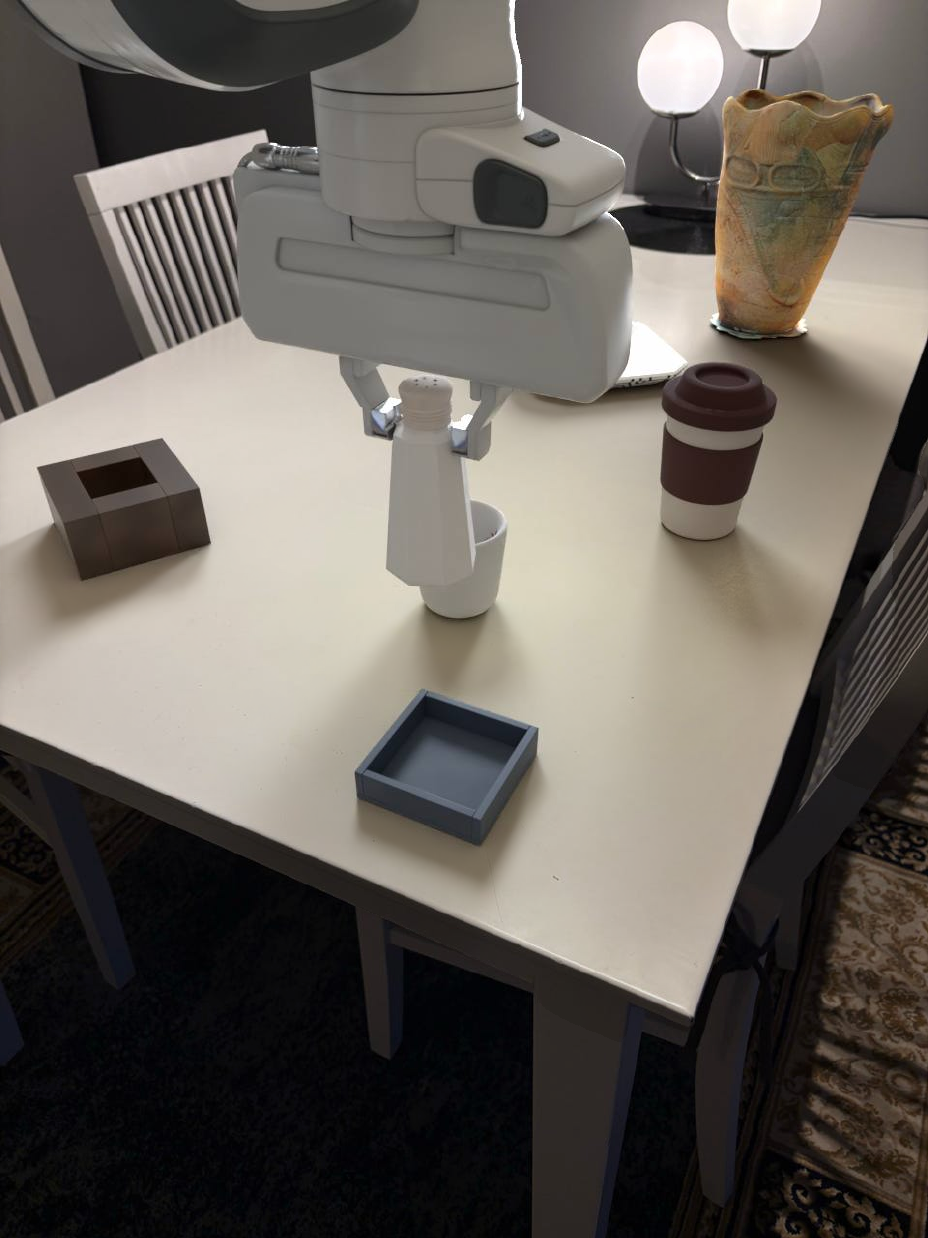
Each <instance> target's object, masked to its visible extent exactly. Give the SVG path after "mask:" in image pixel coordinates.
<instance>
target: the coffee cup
mask: <svg viewBox="0 0 928 1238" xmlns="http://www.w3.org/2000/svg"><path fill="white" fill-rule="evenodd" d="M660 402H661V404H660V405H661V408H662V410H663V412H664V413H665V414H666V420H665V422H664V424H663V429H662V430H663V431H662V446H661V460H660V462H661V463H660V476H659V481H660V485H661V496H660V510H659V516H660V518H659V519H660V520H661V523H662V525H664V527H665V528H666V529H667V530H668V531H670V532H671V533H674V534H676V535H678V536H680V537H683V538H686V539H692V540H700V541H709V540H710V541H711V540H716V539H721V538H723V537H726V536H728V535H729V534H730V533H731V532H733V530H735V527H736V525H737V522H738V519H739V515H740V511H741V508H742V505H743V501H744V499H745V496H746V495H747V493H748V491H749V488H750V485H751V481H752V478H753V475H754V471H755V468H756V464H757V461H758V458H759V454H760V451H761V447H762V444H763V440H764V432H763V431H764V428H765V425H767V424H769V423H770V422H771V421H772V420H773V419H774V416H775V413H776V409H777V403H778V397H777V395H776V393H775V391H773V389H772V388H770V387H769V386H768V385H766V384H765V383H763V379H762V376H761V375H760V374H759V373H758V372H756V371H755V370H753V369H751V368H749V367H746V366H743V365H740V364H737V363H730V362H721V361H709V362H700V363H695V364H693V365H691V366H689V367H686V368H685V369H684V370H683V373H682V374H680V375H677V376H676V377H673V378H670V379H669V380H668V381H667V382H666V383H665V385H664V386H663V388H662V395H661V401H660Z"/></svg>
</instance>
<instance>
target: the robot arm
mask: <svg viewBox="0 0 928 1238" xmlns="http://www.w3.org/2000/svg"><path fill="white" fill-rule="evenodd" d="M4 1H5V2H6V4H7V5H8V6H9V7H10V8H11V10H12V11H13V12H14V13H15V14H16V16H18V18H19V19H20V20H21V21H22V22H23V23H24V24H25V25H26V26H27V27H28V28H29V29H30V30H31V31H32V32H33V33H34V34H35V35H36V36H38V37H39V38H40V39H41V40H42V41H44V42H45V43H46V44H48V46H50V47H52V48H53V49H55V50H56V51H57V52H59V53H60V54H62V55H64V56H65V57H68V58H69V59H71V60H73V61H75V62H77V63H79V64H81V65H84V66H87V67H90V68H92V69H96V70H98V71H104V72H109V73H112V74H113V73H114V74H125V75H126V74H128V75H129V74H130V75H131V74H132V75H133V74H140V75H142V74H143V75H147V76H151V77H154V78H157V79H162V80H165V81H170V82H174V83H178V84H184V85H189V86H194V87H197V88H202V89H206V90H211V91H217V92H247V91H253V90H256V89H260V88H265V87H267V86H270V85H271V86H272V85H275V84H277V83H279V82H282V81H284V80H288V79H291V78H292V79H293V78H295V77H298V76H302V75H306V74H308V73H309V75H310V82H311V83H310V85H311V97H312V106H313V118H314V128H315V140H316V146H308V145H307V146H306V145H304V146H284V145H282V144H279V143H275V142H260V143H256V144H254V145H253V147H252V149H251V151H249V152H247V153H245V154H244V155H243V156H242V157H241V158H240V160H239V161H238V164H237V166H236V168H235V169H234V170H233V175H232V185H233V192H234V199H235V205H236V206H235V207H236V212H237V213H236V214H237V223H236V271H237V273H236V275H237V287H238V301H239V307H240V314H241V318H242V320H243V322H244V323H245V325H246V327H247V328H248V329H249V331H250V332H251V333H252V335H253V336H254V337H255V338H256V339H257V340H259V341H262V342H267V343H271V344H272V343H273V344H277V345H283V346H288V347H292V348H298V349H304V350H307V351H313V352H319V353H323V354H329V355H334V356H335V355H336V356H338V362H339V374H340V376H341V378H342V380H343V381H344V382H345V384H346V386H347V387H348V389H349V391H350V392H351V394H352V395H353V397H354V399H355V401H356V402H357V404H358V406H359V408H362V409H361V410H362V419H363V432H364V435H365V436H366V437H370V438H373V439H379V440H383V441H388V442H393V434H394V431H395V428H396V426H397V423H398V422H400V421H402V417H403V414H402V413H401V404H400V403H401V401H402V400H401V399H399V398H393V397H391V396H390V394H389V392H388V390H387V387H386V386H385V384H384V381H383V379H382V377H381V374H380V373H379V371H378V369H377V368H378V367H379V366H381V365H387V366H391V367H397V368H401V369H407V370H412V371H417V372H423V373H427V374H431V375H436V376H442V377H449V378H453V379H459V380H463V381H467V382H468V381H469V399H470V400H471V401H474V402H479V404H478V407H477V408H476V410H475V412H474V413H473V414H469V413H465V414H464V415H463V416H462V417H461V418H460V421H456V422H455V424H454V425H453V426H451V440H452V441H453V443H454V444H453V445H452V446H451V452H452V455H454V456H458V457H462V458H465V459H466V460H467V459H468V460H470V461H471V460H472V461H476V462H480V461H481V460H482V459H483V458H484V457H485V456H486V455H488V453H489V451H490V449H491V447H492V446H491V445H492V422H493V420H495V418H496V416H497V415H498V414H499V412H500V411H501V409H502V407H503V406H504V405H505V403H506V401H507V400H508V398H509V397H510V396H511V394H512V392H513V391H515V390H516V391H520V392H525V393H531V394H536V395H541V396H545V397H551V398H557V399H562V400H567V401H570V402H571V401H573V402H577V403H583V404H590V403H593V402H595V401H596V400H598V399H599V398H600V397H602V395H604V394H605V393H606V392H608V391H609V390H611V389H612V388H611V387H612V386H613V385H614V384H615V383H616V382H617V381H618V379H619V378H620V377H621V376H622V374H623V373H624V371H625V370H626V367H627V365H628V362H629V358H630V351H631V341H632V327H633V322H634V271H633V270H634V269H633V267H634V266H633V257H632V255H633V254H632V249H631V245H630V240H629V238H628V236H627V234H626V231H625V229H624V228H623V226H622V225H621V223H620V222H619V221H618V220H617V219H616V218H615V217H613V216H612V215H611V214H610V213H608V212H609V210H610V209H612V208H613V207H614V206H615V205H616V203H617V202H618V201H619V200H620V199H621V197H622V195H623V192H624V187H625V183H626V182H625V181H626V164H625V161H624V158H623V157H622V156H621V155H620V154H619V153H617V152H616V151H615V150H612V149H611V148H609V147H607V146H605V145H603V144H600V143H598V142H596V141H594V140H592V139H590V138H588V137H585V136H583V135H581V134H579V133H576V132H575V131H572V130H570V129H568V128H566V127H564V126H562V125H560V124H558V123H556V122H554V121H551V120H549V119H547V118H546V117H544V116H542V115H540V114H538V113H537V112H534V111H532V110H530V109H528V108H527V107H525V106H522V78H523V77H522V64H521V63H522V62H521V59H520V58H521V57H520V53H519V48H518V45H517V40H516V33H515V32H516V31H515V19H514V18H515V17H514V16H515V1H516V0H4ZM251 163H253V164H254V165H252V164H251ZM250 164H251V165H250ZM610 388H611V389H610Z"/></svg>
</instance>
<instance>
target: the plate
mask: <svg viewBox="0 0 928 1238" xmlns="http://www.w3.org/2000/svg"><path fill="white" fill-rule="evenodd" d="M687 368H688V361H687V360H685V358H683V356H681V355H680V354H679V353H678V352H676V351H675V350H674V349H673V348H672V347H671V346H670V345H669V344H667V343H666V342H665V341H664V340H663V339H662V338H660V336H658V335H657V334H656V333H655V332H654V331H653V330H652V329H650V328H649V327H648V326H647V325H646V324H644V323H641V322H637V321H633V327H632V341H631V351H630V358H629V362H628V365H627V367H626V370H625V371H624V373H623V374H622V376H621V377H620V378H619V379H618V381H617V382H616V383H615V384H614V385H613V386H612V387H611V388H610V389H609V390H611V389H621V388H629V387H631V388H632V387H639V386H640V387H641V386H649V385H651V386H652V385H656V384H658V383H661V382H664V381H666V380H671V379H673V378H675V377H678V376H679V374H681V372H682V371H685V370H686V369H687Z"/></svg>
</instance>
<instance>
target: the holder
mask: <svg viewBox="0 0 928 1238" xmlns="http://www.w3.org/2000/svg"><path fill="white" fill-rule="evenodd" d="M36 469H37V473H38V476H39V479H40V482H41V485H42V488H43V491H44V495H45V499H46V501H47V505H48V507H49V510H50V511H49V512H50V513H51V517H52V520H53V523H54V524H55V527H56V529H57V532H58V533H59V535H60V537H61V541H62V542H63V544H64V546H65V549H66V551H67V554H68V555H69V557H70V559H71V562H72V564H73V566H74V569H75V571H76V573H77V575H78V577H79V579H80V581H85V580H88V579H92V578H94V577H98V576H102V575H105V574H109V573H112V572H115V571H119V570H123V569H126V568H130V567H134V566H137V565H139V564H140V565H141V564H144V563H148V562H151V561H153V560H157V559H162V558H164V557H165V558H166V557H168V556H171V555H175V554H178V553H182V552H185V551H189V550H193V549H196V548H200V547H204V546H206V545H210V544H211V543H212V541H211V536H210V531H209V527H208V522H207V517H206V513H205V511H206V510H205V506H204V502H203V496H202V492H201V488H200V486H199V485H198V484H197V482H196V481H195V479H194V478H193V477H192V475H191V474H190V473H189V472H188V470H187V469H186V467H185V466H184V465H183V463H182V462H181V461H180V460H179V458H178V457H177V455H176V454H175V453H174V451H173V450H172V449H171V448H170V446H169V445H168V444H167V442H166V441H165V440H164V438H163V437H161V438H156V439H155V438H154V439H151V440H147V441H144V442H139V443H134V444H130V445H126V446H122V447H117V448H113V449H109V450H104V451H99V452H96V453H92V454H87V455H83V456H79V457H74V458H71V459H70V458H69V459H65V460H62V461H57V462H52V463H48V464H45V465H44V464H43V465H40V466H36Z"/></svg>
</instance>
